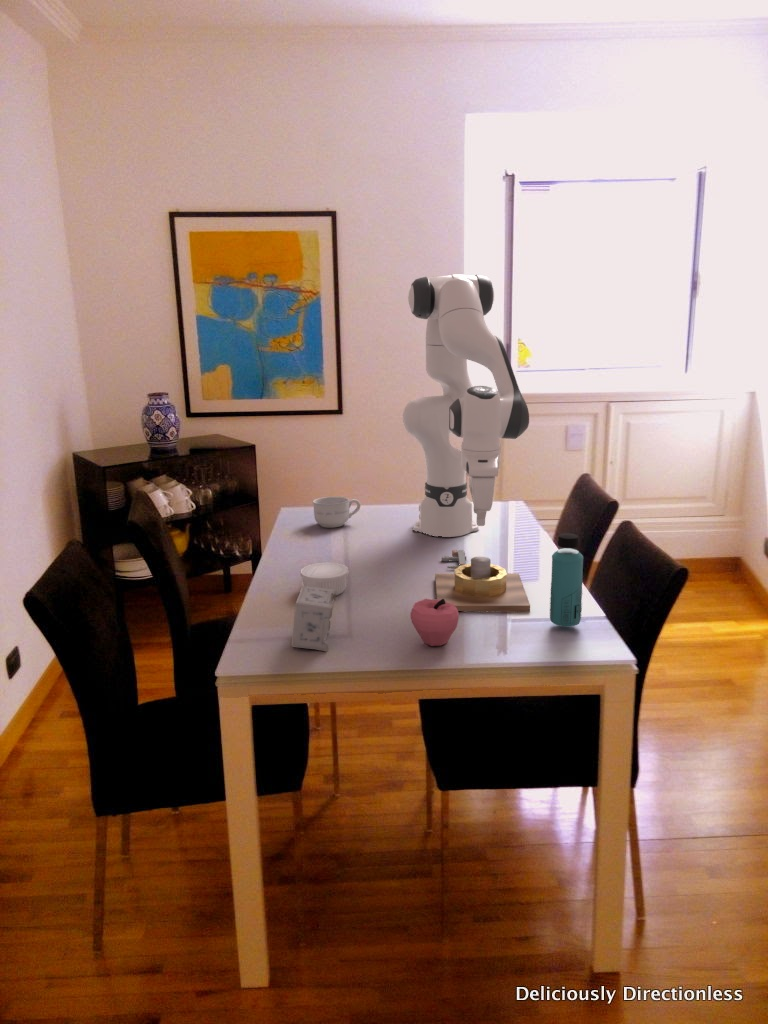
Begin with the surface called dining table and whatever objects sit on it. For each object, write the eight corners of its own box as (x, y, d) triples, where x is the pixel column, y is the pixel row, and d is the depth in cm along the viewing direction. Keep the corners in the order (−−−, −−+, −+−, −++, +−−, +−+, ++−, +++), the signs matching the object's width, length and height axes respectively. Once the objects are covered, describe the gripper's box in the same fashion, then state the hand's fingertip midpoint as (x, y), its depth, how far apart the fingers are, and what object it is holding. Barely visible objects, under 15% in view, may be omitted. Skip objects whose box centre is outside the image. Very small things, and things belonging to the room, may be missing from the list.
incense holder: (333, 652, 158) (331, 603, 155) (291, 652, 158) (288, 603, 155) (338, 631, 167) (336, 584, 164) (298, 631, 167) (295, 584, 165)
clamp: (441, 549, 212) (479, 549, 211) (441, 557, 212) (479, 557, 212) (443, 569, 197) (484, 568, 197) (443, 577, 198) (484, 577, 197)
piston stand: (435, 579, 195) (435, 546, 193) (518, 579, 194) (519, 545, 192) (437, 612, 176) (437, 575, 174) (530, 611, 175) (531, 575, 173)
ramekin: (296, 586, 193) (295, 565, 191) (341, 579, 196) (340, 559, 195) (307, 602, 183) (306, 580, 181) (354, 596, 186) (354, 574, 185)
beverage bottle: (575, 636, 163) (580, 541, 157) (544, 629, 166) (547, 537, 161) (584, 624, 168) (589, 532, 163) (553, 618, 172) (557, 528, 166)
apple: (455, 633, 165) (456, 588, 162) (461, 652, 157) (462, 604, 154) (409, 635, 165) (408, 589, 162) (412, 654, 156) (412, 606, 154)
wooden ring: (453, 579, 191) (453, 563, 190) (502, 579, 190) (503, 563, 189) (456, 597, 180) (456, 580, 179) (508, 597, 179) (508, 580, 178)
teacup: (311, 530, 236) (310, 504, 233) (316, 520, 246) (315, 494, 244) (359, 530, 235) (358, 503, 233) (361, 519, 245) (361, 494, 243)
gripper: (463, 449, 192) (462, 505, 196) (469, 470, 172) (468, 532, 176) (490, 449, 191) (488, 505, 196) (499, 471, 172) (497, 532, 176)
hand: (479, 518), depth 186 cm, fingers open, 8 cm apart
